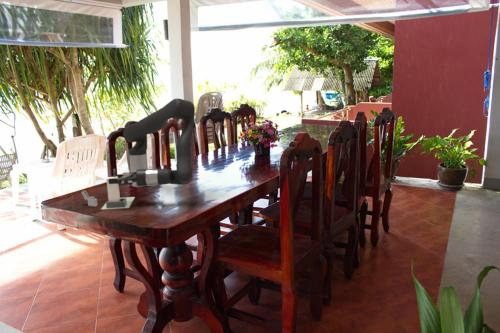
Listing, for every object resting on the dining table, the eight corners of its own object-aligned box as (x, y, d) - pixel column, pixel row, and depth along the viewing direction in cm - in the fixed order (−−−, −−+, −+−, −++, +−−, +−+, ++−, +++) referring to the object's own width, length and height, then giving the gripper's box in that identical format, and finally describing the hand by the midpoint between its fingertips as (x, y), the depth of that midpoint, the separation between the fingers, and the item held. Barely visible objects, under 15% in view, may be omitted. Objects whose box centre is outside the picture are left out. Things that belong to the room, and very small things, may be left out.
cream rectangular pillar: (110, 205, 199) (106, 168, 195) (120, 204, 199) (117, 167, 196) (109, 207, 196) (105, 169, 192) (119, 206, 196) (116, 169, 193)
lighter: (98, 207, 199) (96, 190, 198) (95, 209, 198) (93, 191, 196) (85, 206, 202) (83, 189, 200) (82, 207, 200) (81, 190, 199)
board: (109, 200, 210) (108, 193, 210) (135, 199, 212) (134, 191, 211) (101, 211, 193) (100, 203, 192) (129, 210, 194) (128, 202, 193)
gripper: (149, 166, 203) (113, 167, 201) (145, 172, 189) (106, 174, 187) (150, 181, 204) (114, 183, 203) (146, 189, 190) (108, 191, 189)
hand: (110, 179), depth 195 cm, fingers open, 8 cm apart
